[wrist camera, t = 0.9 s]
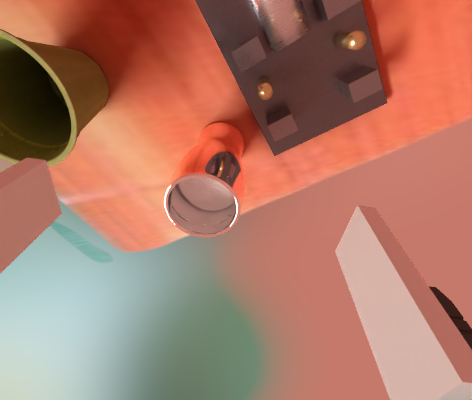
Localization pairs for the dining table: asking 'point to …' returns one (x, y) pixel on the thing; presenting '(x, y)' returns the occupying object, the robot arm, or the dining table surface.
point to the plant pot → (45, 98)
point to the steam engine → (300, 68)
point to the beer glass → (208, 183)
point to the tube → (282, 21)
